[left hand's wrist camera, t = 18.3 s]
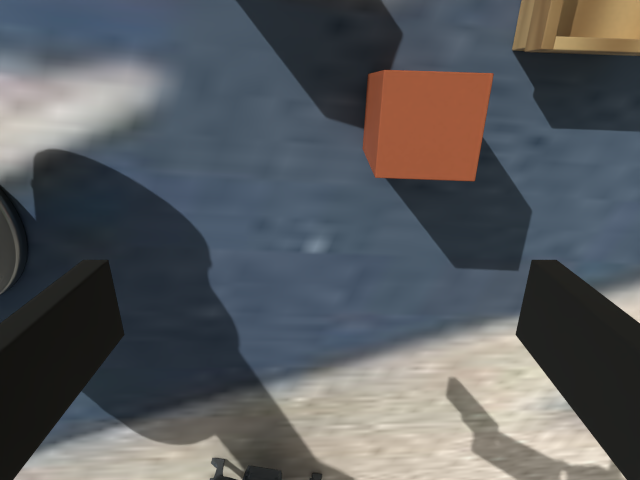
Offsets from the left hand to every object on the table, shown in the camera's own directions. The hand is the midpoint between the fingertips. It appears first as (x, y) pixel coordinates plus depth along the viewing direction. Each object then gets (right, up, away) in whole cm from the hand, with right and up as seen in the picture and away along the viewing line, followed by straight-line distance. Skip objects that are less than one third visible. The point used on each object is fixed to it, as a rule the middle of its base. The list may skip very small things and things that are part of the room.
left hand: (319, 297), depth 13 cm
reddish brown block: (+7, +12, +21) cm, 25 cm away
